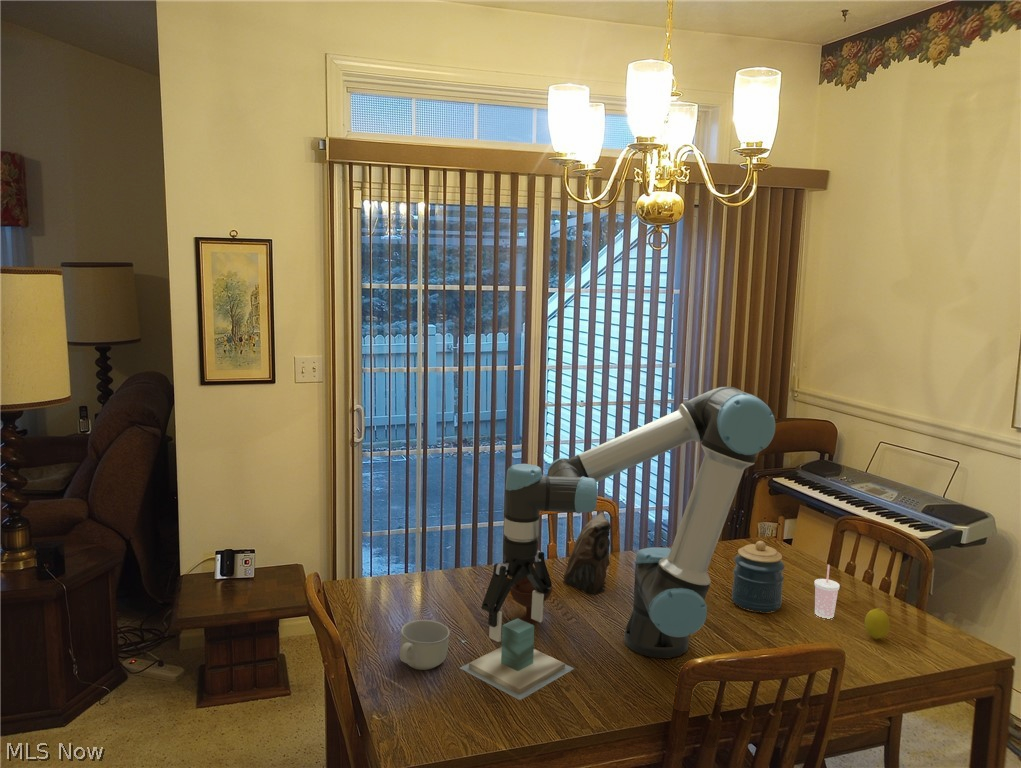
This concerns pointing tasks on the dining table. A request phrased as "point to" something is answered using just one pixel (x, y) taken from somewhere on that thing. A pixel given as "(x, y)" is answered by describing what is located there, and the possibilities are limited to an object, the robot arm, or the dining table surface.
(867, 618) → the lemon
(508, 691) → the mat
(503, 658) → the lid
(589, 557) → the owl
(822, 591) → the beverage cup
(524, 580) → the ice cream bowl
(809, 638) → the dining table surface
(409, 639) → the teacup
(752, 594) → the canister
